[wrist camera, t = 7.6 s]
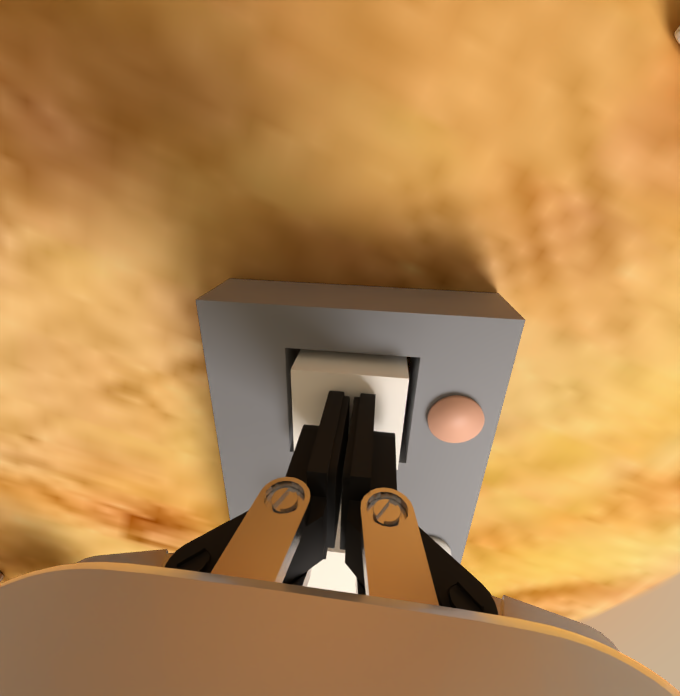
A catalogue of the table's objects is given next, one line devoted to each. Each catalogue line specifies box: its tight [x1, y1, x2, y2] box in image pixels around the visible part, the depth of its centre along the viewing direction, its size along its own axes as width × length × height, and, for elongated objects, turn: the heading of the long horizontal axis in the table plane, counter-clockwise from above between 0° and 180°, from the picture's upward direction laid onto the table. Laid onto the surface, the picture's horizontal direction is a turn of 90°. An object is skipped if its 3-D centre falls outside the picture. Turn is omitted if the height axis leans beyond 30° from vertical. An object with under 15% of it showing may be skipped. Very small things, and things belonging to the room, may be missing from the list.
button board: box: [196, 279, 525, 564], centre depth 18 cm, size 23×11×3 cm, turn 178°
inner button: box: [291, 349, 409, 470], centre depth 14 cm, size 4×4×4 cm
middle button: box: [307, 506, 356, 594], centre depth 16 cm, size 4×4×4 cm
